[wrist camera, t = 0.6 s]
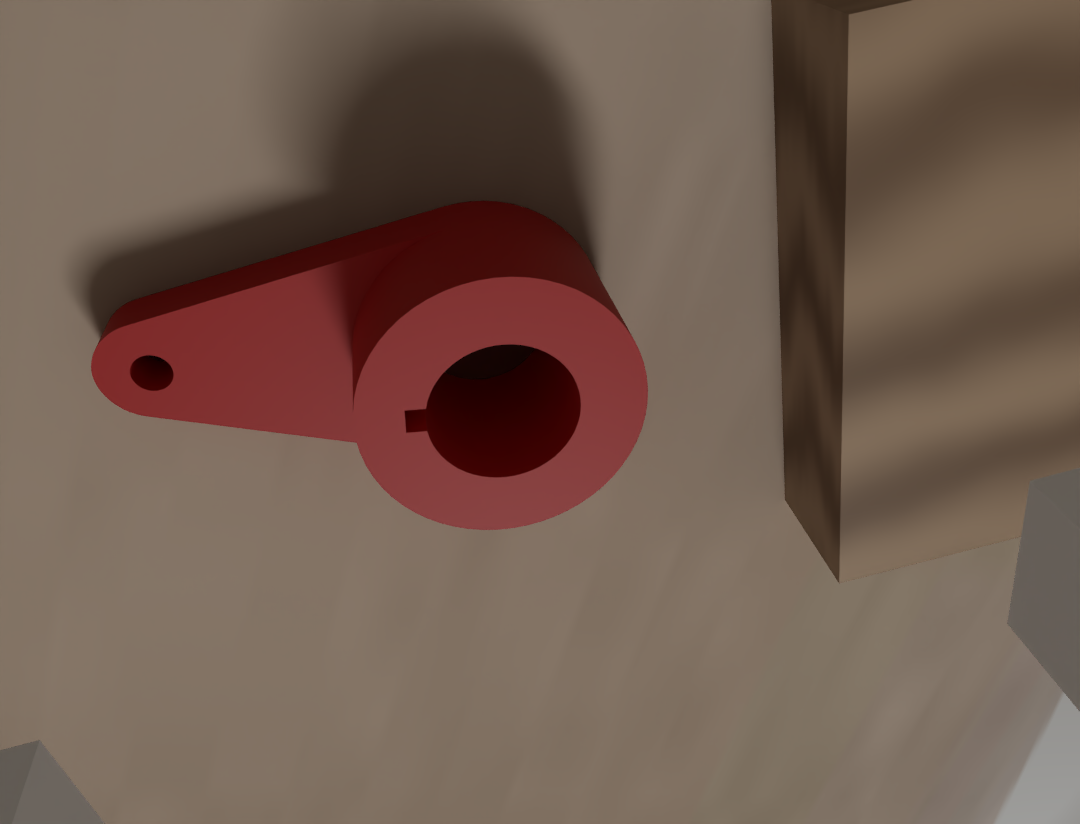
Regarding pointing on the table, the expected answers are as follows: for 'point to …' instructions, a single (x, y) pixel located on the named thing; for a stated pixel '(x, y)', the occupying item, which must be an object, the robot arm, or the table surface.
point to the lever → (406, 360)
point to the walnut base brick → (925, 269)
